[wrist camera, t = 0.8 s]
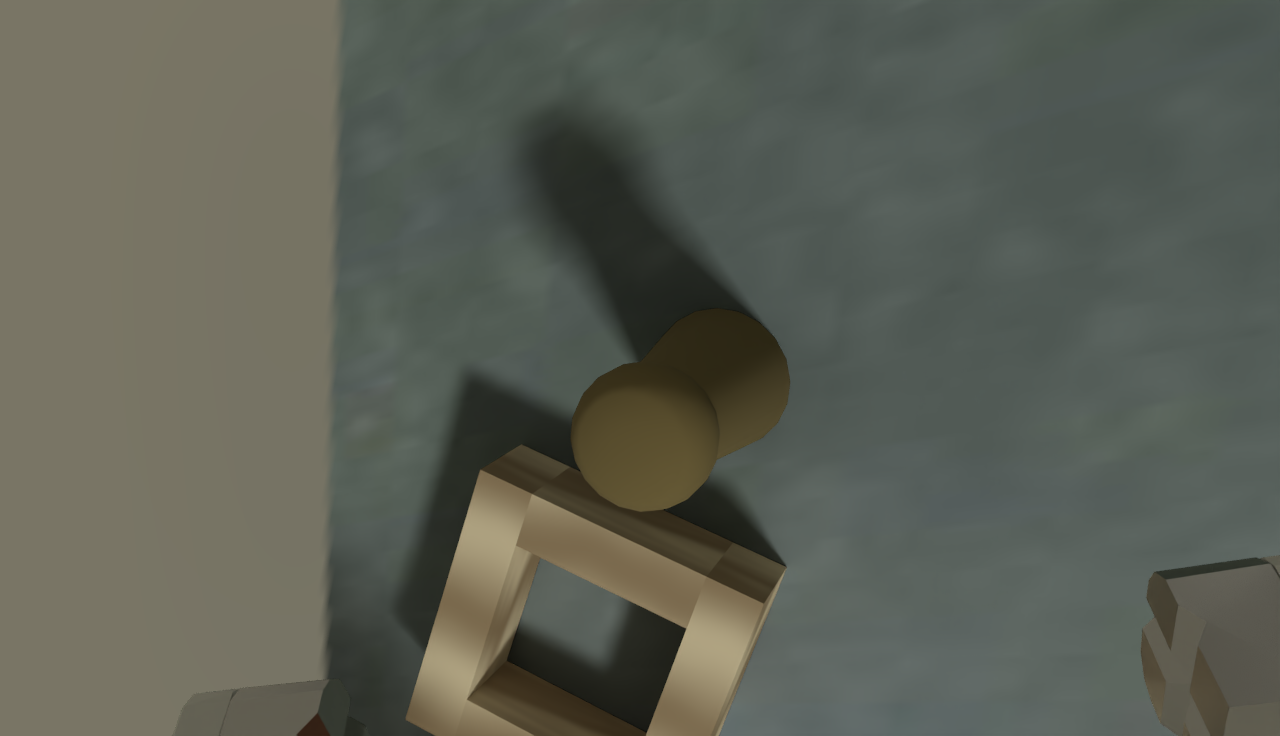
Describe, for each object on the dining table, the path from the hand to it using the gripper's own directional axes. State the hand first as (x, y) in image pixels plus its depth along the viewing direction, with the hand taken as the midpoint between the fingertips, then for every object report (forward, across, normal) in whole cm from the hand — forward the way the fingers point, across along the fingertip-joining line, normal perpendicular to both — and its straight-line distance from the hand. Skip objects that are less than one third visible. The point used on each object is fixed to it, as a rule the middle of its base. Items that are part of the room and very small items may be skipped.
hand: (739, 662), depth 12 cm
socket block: (+28, +8, +32) cm, 43 cm away
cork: (+32, +1, +21) cm, 38 cm away
